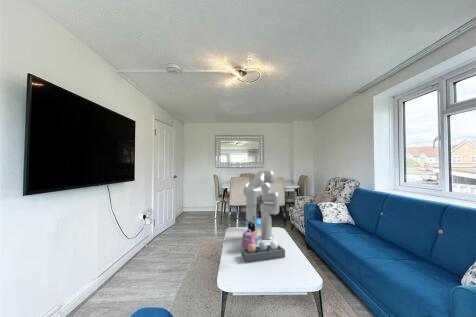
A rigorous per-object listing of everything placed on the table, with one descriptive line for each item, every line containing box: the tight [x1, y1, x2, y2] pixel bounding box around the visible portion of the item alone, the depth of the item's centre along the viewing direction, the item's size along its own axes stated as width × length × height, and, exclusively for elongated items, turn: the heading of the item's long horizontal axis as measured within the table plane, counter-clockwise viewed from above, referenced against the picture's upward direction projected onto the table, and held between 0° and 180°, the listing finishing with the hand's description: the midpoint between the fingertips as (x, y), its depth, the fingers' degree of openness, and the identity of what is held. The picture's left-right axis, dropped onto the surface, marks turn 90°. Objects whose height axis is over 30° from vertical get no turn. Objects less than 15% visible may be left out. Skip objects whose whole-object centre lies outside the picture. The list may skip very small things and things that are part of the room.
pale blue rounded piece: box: [259, 241, 268, 252], centre depth 165 cm, size 6×6×6 cm
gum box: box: [242, 226, 263, 248], centre depth 186 cm, size 24×8×14 cm, turn 153°
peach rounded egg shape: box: [248, 244, 255, 254], centre depth 163 cm, size 6×6×6 cm
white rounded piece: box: [269, 240, 279, 251], centre depth 168 cm, size 6×6×6 cm
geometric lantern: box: [245, 197, 265, 228], centre depth 230 cm, size 16×16×35 cm
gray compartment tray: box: [240, 244, 286, 264], centre depth 165 cm, size 12×30×6 cm, turn 107°
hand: (251, 230), depth 163 cm, fingers open, 4 cm apart
